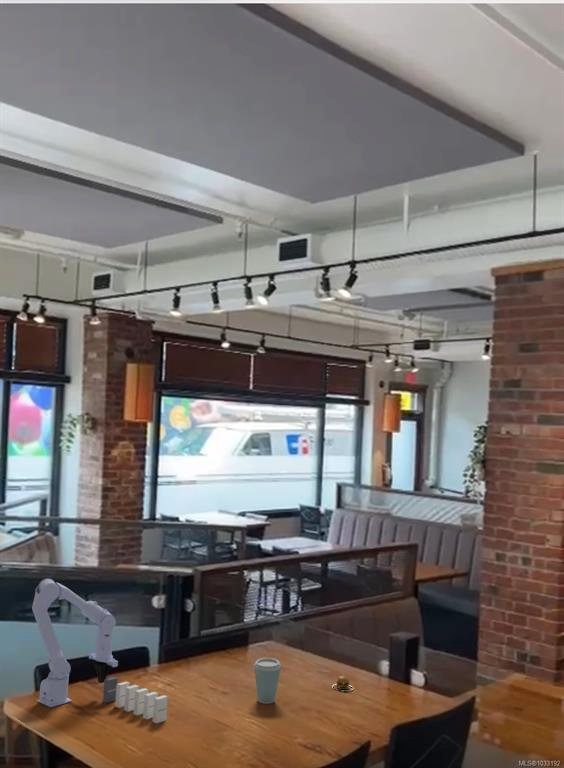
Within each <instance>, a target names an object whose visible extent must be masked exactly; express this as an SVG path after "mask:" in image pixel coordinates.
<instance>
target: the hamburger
mask: <svg viewBox="0 0 564 768" xmlns="http://www.w3.org/2000/svg"><path fill="white" fill-rule="evenodd" d="M335 681H336V683H334V684H332V686H331V687H332V689H334V688H333V686H334V685H336V686H335V687H336V688H337V689H336V688H335V689H336V690H335V691H338V690H340V689H347V690H348V692H351V691H353V690H354V689H355V688H354V687H353V686H352V685H350V679H349V678H348V677H347V676H346V675H340V676H338V677H337V678H336V680H335ZM349 686H351V687H353V689H352V688H351V689H349V688H350V687H349ZM338 688H339V689H338ZM340 692H343V690H341V691H340Z"/></svg>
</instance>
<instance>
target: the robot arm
mask: <svg viewBox="0 0 564 768" xmlns="http://www.w3.org/2000/svg"><path fill="white" fill-rule="evenodd" d="M56 600H66V601H67V602H69V603H71V604H73V605H74V606H75V607H77V608H79V609H80V611H81V612H80V613H81V614H82V615H83V616H84V617H85V618H87V619H89V620H90V621H91V622H93V623H95V624H97V634H96V635H97V636H96V638H97V639H96V649H95V652H91V653H90V652H89V653H88V659H89V660H94V661H96V662H94V663H93V667H94V669H95V671H96V676H97V681H98V683H99V684H102V683H104V680H105V679H107V675H108V673H109V671H110V669H111V668H116V667H118V666H119V661H118V660H116V659H115V658H114V655H112V650H113V639H114V638H113V635H114V627H116V624H117V622H116V618H115V616H114V615H113V614H111V613H110V612H109V611H108V609H107V608H103V607H102V606H100V605H98V602H97V601H95V600H94V601H92V600H88V601H87V600H85V599H83V598H82V597H81V596H79V595H78V594H76V593H75V592H73V591H72V590H71V589H69V588H68V587H66V586H65V585H63V584H62V583H59V582H58V581H57V582H55V581H54V580H53V579H52V578H44V579H42V580H41V581H40V582H39V584H38V585H37V587H36V588H35V593H34V597H33V602H32V607H31V609H32V613H33V616H34V618H35V621H36V624H37V627H38V630H39V632H40V635H41V638H42V641H43V644H44V647H45V649H46V652H47V657H48V668H49V670H50V671H49V673H48V676H47V677H46V678H45V679H43V680H42V681H41V682H40V686H39V697H38V700H37V702H38V703H40V704H42V705H45V706H47V707H49V708H53V707H56V706H60V705H64V704H67V703H71V702H73V699H72V698H69V697H68V691H69V678H70V673H71V669H72V668H71V667H72V666H71V665H70V663H69V662H68V661H67V659H66V657H65V655H64V654H63V652H62V649H61V646H60V643H59V640H58V637H57V634H56V631H55V630H54V626H53V624H52V620H51V618H50V615H49V613H48V609H49V607H50V606H51V604H52V603H53V602H54V601H56Z"/></svg>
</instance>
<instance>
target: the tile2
mask: <svg viewBox="0 0 564 768" xmlns="http://www.w3.org/2000/svg"><path fill="white" fill-rule="evenodd" d="M130 683H131V682H129V681H123V682H117V688H116V700H115V702H114V703H115V705H114V706H115V708H117V709H120V708H124V706H125V692H126V687H129V686H131V684H130Z"/></svg>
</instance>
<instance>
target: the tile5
mask: <svg viewBox="0 0 564 768" xmlns="http://www.w3.org/2000/svg"><path fill="white" fill-rule="evenodd" d="M156 697H159V692H156V691H151V692H148V694H145V696H144V710H143V714H142V718H143V719H145V720H150V719H151V718H152V719H153V709H154V698H156Z"/></svg>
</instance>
